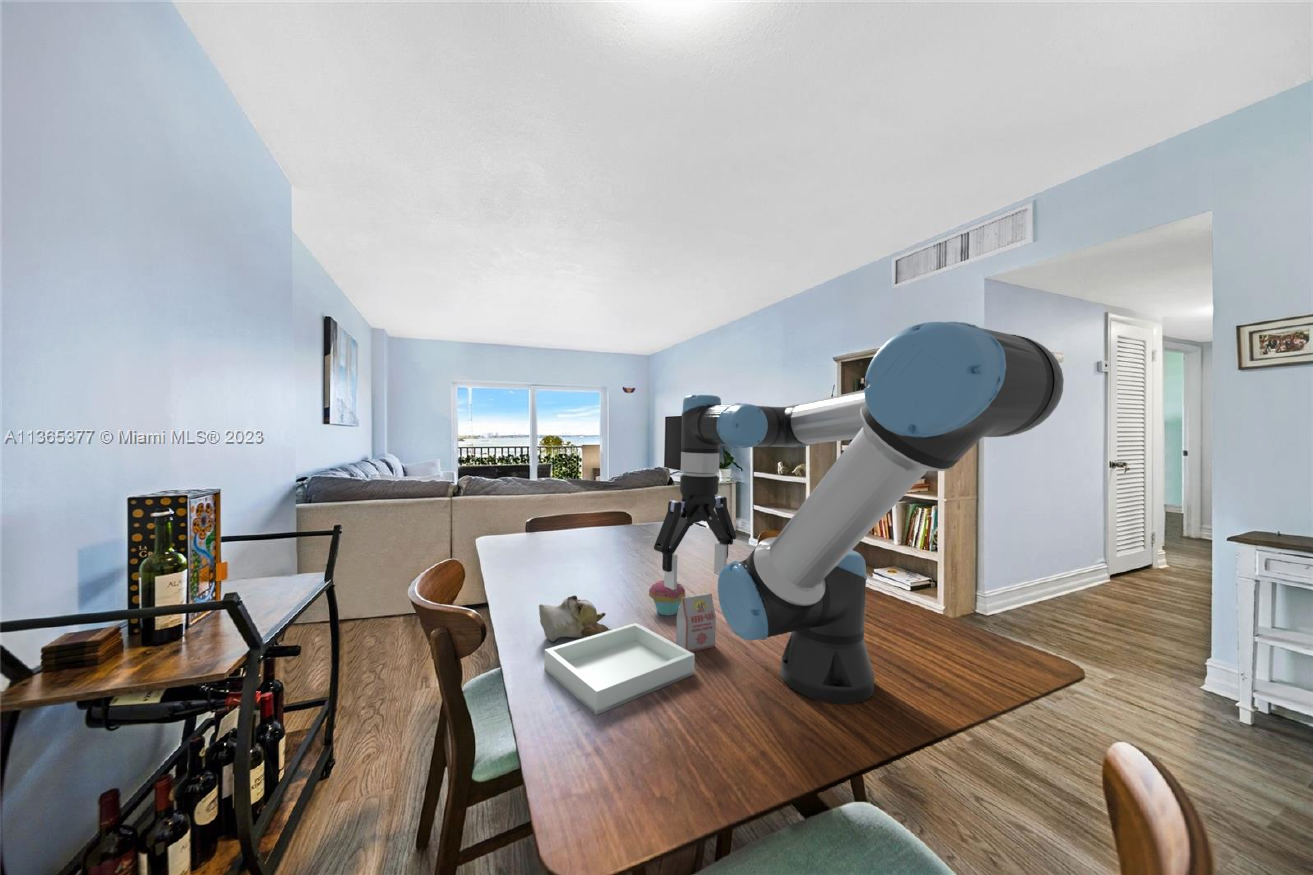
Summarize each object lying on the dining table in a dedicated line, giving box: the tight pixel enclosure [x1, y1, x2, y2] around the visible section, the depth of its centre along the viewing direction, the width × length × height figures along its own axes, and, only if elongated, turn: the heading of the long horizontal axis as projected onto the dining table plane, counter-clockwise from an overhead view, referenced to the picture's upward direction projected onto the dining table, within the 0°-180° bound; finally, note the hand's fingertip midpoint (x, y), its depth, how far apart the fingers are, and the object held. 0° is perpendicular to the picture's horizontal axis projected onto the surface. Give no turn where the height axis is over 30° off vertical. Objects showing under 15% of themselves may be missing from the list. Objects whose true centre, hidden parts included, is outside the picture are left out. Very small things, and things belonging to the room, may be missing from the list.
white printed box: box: [675, 592, 717, 653], centre depth 95 cm, size 4×7×10 cm, turn 116°
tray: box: [543, 622, 696, 716], centre depth 84 cm, size 17×20×4 cm
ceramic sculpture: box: [538, 595, 613, 643], centre depth 98 cm, size 11×9×15 cm
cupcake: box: [648, 579, 686, 616], centre depth 113 cm, size 9×8×12 cm
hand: (696, 581), depth 95 cm, fingers open, 13 cm apart
